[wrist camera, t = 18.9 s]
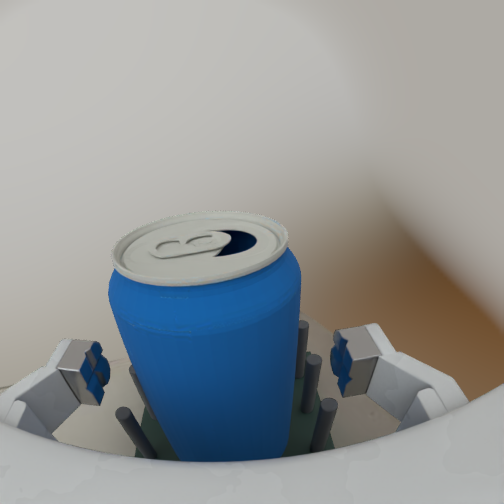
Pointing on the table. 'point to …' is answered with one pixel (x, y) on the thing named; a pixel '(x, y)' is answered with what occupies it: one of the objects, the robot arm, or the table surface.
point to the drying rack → (301, 425)
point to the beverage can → (212, 330)
